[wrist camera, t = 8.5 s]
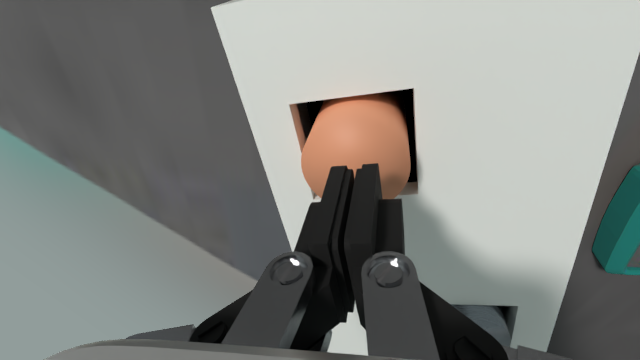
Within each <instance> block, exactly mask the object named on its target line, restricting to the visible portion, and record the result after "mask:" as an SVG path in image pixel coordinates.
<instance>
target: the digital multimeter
mask: <svg viewBox="0 0 640 360" xmlns="http://www.w3.org/2000/svg"><path fill="white" fill-rule="evenodd" d="M592 252H593V253H594V255H595V256H596V258H597V259H598V261H599V262H600V264H601V265H602V267H603V268H604V270H605V271H606V272H607V273H611V274H625V275H640V164H637V165H635V166H634V167H633V168H632V169H631V170H630V171H629V173H628V174H627V176H626V178H625V179H624V181H623V182H622V184H621V185H620V187H619V189H618V190H617V192H616V194H615V196H614V197H613V199H612V201H611V202H610V204H609V206H608V208H607V210H606V213H605V215H604V217H603V219H602V221H601V224H600V227H599V229H598V232H597V235H596V238H595V241H594V244H593V248H592Z"/></svg>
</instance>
